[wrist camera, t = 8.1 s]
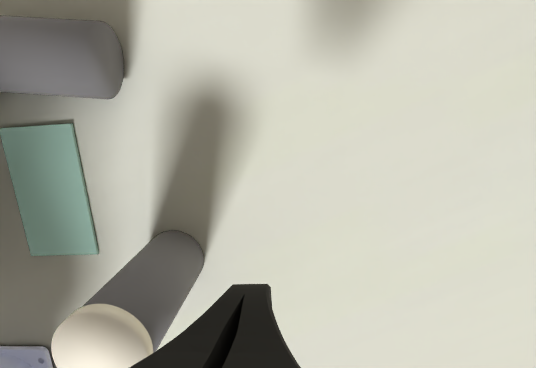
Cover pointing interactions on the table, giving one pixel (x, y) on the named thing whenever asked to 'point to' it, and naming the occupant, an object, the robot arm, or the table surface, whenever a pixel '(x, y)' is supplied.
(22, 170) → the pad
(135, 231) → the table surface
